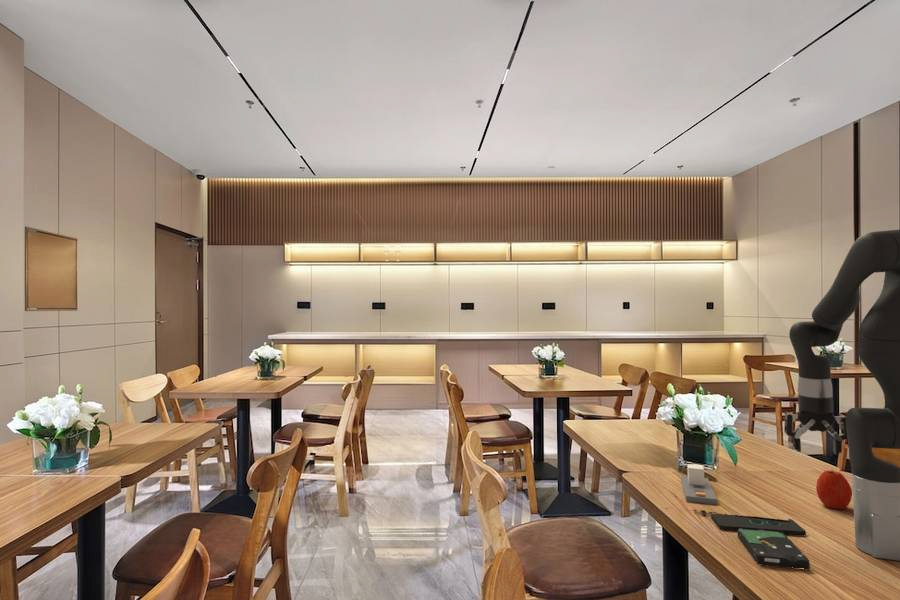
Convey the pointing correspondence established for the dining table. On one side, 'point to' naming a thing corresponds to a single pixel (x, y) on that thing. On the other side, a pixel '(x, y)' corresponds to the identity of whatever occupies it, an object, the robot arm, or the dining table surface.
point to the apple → (834, 490)
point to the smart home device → (757, 524)
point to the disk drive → (772, 549)
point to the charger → (695, 474)
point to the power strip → (698, 492)
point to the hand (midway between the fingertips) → (817, 452)
